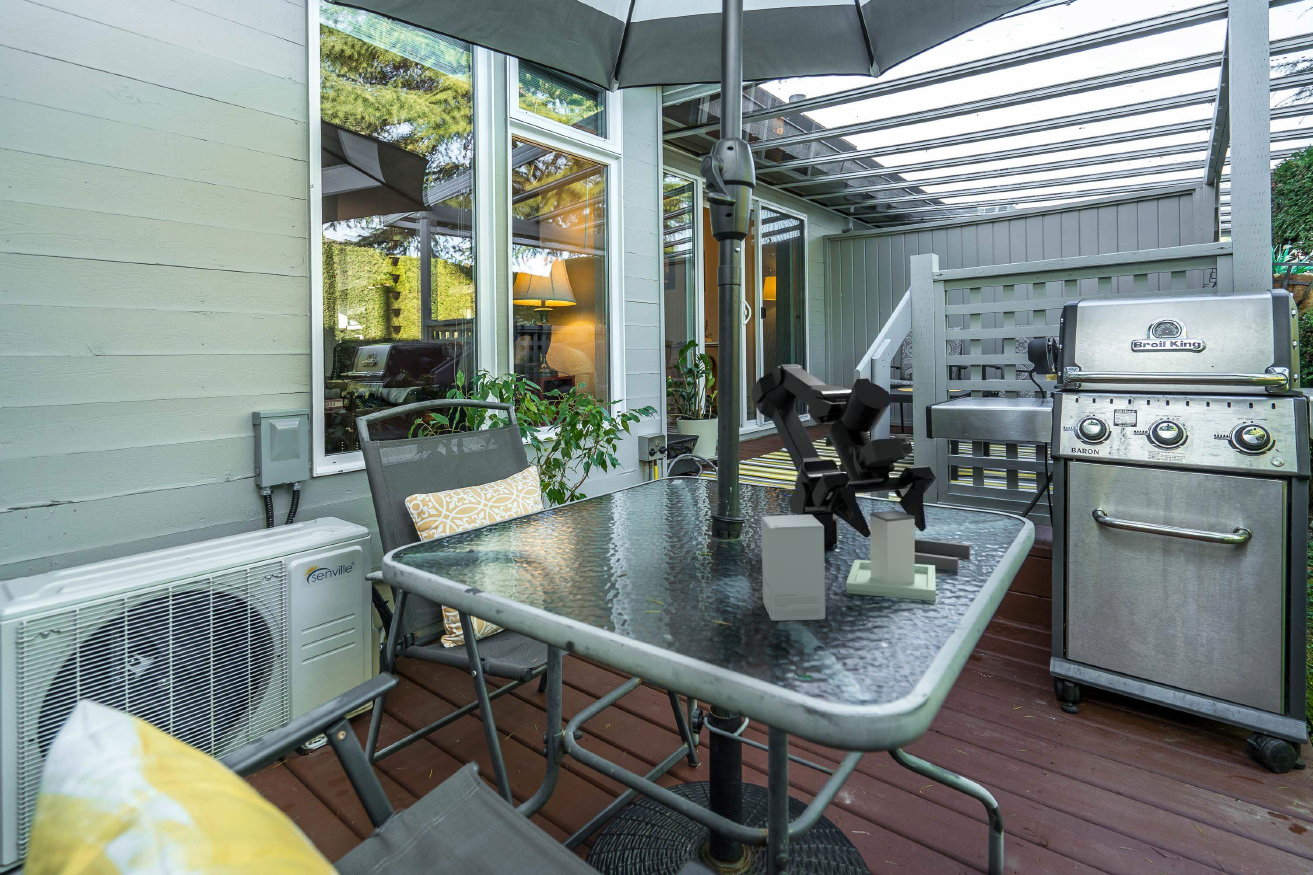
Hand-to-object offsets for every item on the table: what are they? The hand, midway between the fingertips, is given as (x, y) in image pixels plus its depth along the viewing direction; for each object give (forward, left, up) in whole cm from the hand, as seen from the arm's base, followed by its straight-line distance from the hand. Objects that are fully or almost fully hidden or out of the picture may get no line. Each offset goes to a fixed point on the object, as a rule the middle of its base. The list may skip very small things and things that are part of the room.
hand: (896, 532), depth 97 cm
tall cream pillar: (-1, +1, -7) cm, 8 cm away
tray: (-1, +1, -8) cm, 8 cm away
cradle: (+5, +15, -8) cm, 18 cm away
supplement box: (-13, -14, -8) cm, 21 cm away
